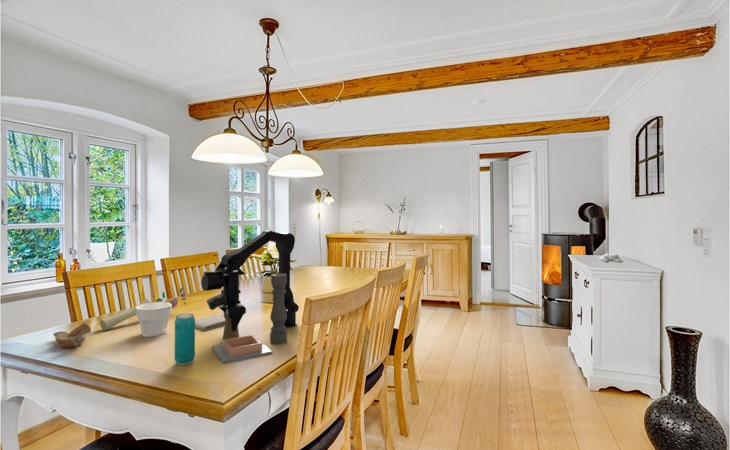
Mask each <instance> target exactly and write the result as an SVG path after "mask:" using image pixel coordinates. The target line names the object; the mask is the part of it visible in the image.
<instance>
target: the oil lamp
mask: <svg viewBox="0 0 730 450" xmlns="http://www.w3.org/2000/svg"><path fill="white" fill-rule="evenodd" d="M91 331H92V328H91V327H90V325H89V324H88V323H87V322H86V321H83V322H82V323H81V324H79V325H78V326H77V327H75V328H74V329H72V330H71V331H70V332H67V331H57V332H54V333H53V334H52V335H53V336H54V338H55V341H56V342H57V344H58V345H59V346H60V347H61V348H64V349H65V348H67V349H69V348H75V347H81V346H82V344H83V343H84V342H85V341H86V338H87V335H88V334H89V333H91Z"/></svg>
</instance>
